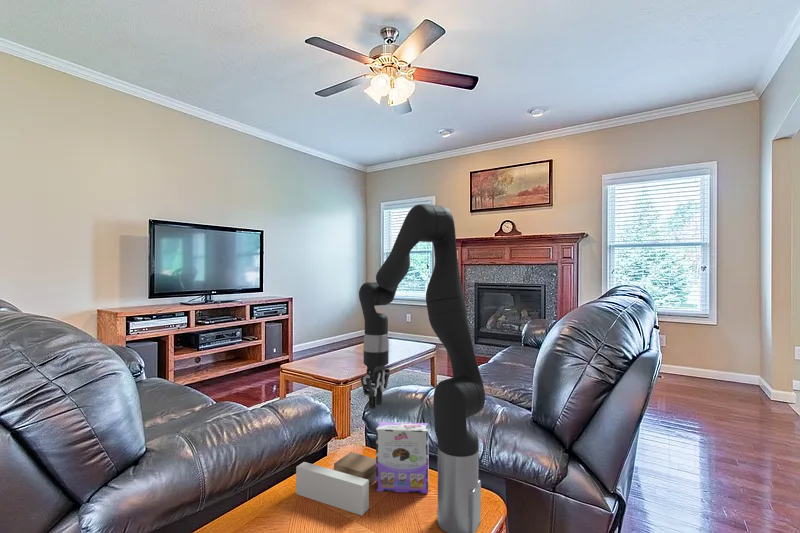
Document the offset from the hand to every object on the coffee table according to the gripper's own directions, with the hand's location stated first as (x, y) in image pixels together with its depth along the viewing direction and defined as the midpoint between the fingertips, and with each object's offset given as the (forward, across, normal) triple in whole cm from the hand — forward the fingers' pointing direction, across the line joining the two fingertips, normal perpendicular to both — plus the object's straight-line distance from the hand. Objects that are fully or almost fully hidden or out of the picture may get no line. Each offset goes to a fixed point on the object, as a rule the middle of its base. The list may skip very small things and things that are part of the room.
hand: (375, 405), depth 119 cm
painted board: (+17, -22, 0) cm, 28 cm away
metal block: (+17, -10, 0) cm, 20 cm away
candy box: (+17, -8, -13) cm, 23 cm away
